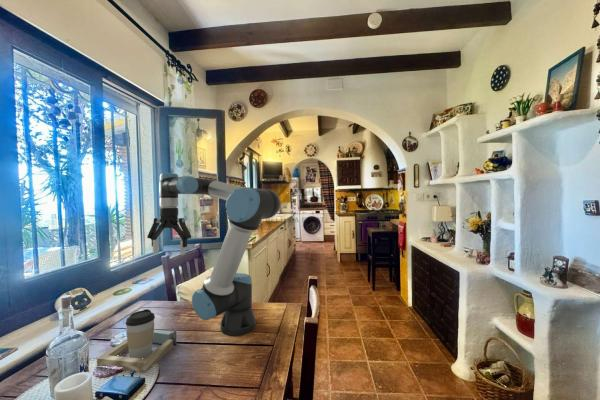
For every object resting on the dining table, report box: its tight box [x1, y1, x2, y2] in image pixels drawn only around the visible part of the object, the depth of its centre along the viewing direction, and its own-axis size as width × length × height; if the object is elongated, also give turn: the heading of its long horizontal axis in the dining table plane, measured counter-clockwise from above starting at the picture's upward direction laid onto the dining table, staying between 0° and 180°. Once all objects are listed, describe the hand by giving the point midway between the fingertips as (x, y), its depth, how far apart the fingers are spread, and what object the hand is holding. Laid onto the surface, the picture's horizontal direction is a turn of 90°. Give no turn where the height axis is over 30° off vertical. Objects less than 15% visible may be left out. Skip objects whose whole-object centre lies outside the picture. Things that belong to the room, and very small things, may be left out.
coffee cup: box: [125, 308, 156, 359], centre depth 91 cm, size 9×9×15 cm
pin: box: [171, 330, 177, 347], centre depth 97 cm, size 2×2×5 cm
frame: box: [96, 338, 174, 373], centre depth 91 cm, size 18×17×3 cm
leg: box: [152, 329, 172, 345], centre depth 99 cm, size 13×2×4 cm, turn 77°
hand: (169, 254), depth 114 cm, fingers open, 13 cm apart
